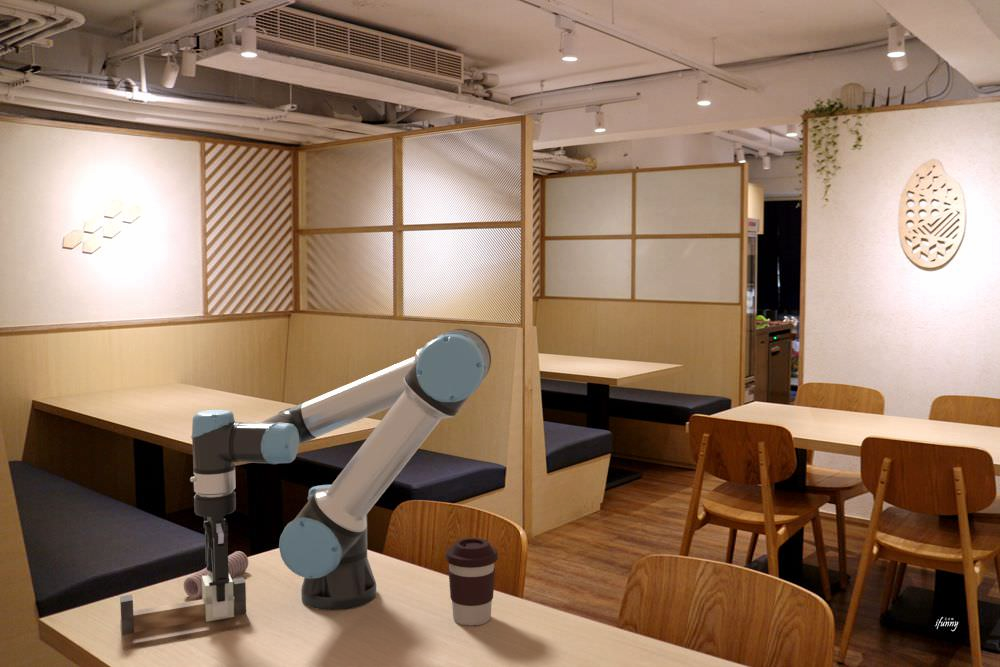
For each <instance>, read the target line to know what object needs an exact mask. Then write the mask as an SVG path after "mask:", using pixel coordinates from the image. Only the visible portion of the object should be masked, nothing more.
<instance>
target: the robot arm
mask: <svg viewBox="0 0 1000 667" xmlns="http://www.w3.org/2000/svg"><path fill="white" fill-rule="evenodd" d="M491 365H492V352H491V349H490V346H489V344H488V342H487V341H486V340H485V339H484V338H483V336H482V335H480V334H479V333H477V332H476V331H474V330H470V329H467V328H455V329H452V330H449V331H447V332H445V333H443V334H439V335H437V336H435V337H434V338H432V339H431V340H430V341H428V342H427V343H426V344H425V345H424V346H422V347H421V348H419V349H417V350H416V352H415V355H414V356H412V357H410V358H409V357H408V358H407V359H405V360H403V361H402V360H401V361H400V362H398V363H395V364H393V365H390V366H388V367H385V368H383V369H381V370H379V371H377V372H374V373H372V374H369V375H366V376H364V377H362V378H359V379H357V380H354V381H353V382H350V383H348V384H345V385H343V386H339V387H337V388H336V389H333V390H332V391H331V390H330V391H328V392H326V393H324V394H322V395H319V396H317V397H314V398H312V399H310V400H307V401H305V402H303V403H300V404H297V405H295V406H294V407H288V408H285V409H284V410H281V411H280V412H278V413H277V414H275V415H273V416H271V417H269V418H266V419H265V420H263V421H259V422H240V421H235V416H234V413H233V412H232V411H230V410H228V409H227V410H225V409H210V410H209V409H208V410H207V409H206V410H202V411H199V412H197V413H195V414H194V416H193V417H192V427H191V428H192V429H191V430H192V431H191V436H190V437H191V440H192V442H191V443H192V444H191V445H192V464H193V466H192V467H193V475H194V476H191V477H190V478H189V481H190V482H191V483H193V492H194V493H195V495H194V496H193V506H194V514H195V515H196V516H199V517H203V529H204V539H205V540H204V541H205V543H204V544H205V561H204V562H205V565H206V567H207V570H208V571H210V572H208V573H207V575H213V582H210V583H209V586H212V607H213V618H219V617H225V616H228V589H227V583H229V569H228V556H229V546H228V545H229V541H228V540H229V532H228V531H229V524H228V522H226V521H227V520H226V518H225V516H227V515H230V514H232V513H234V512H235V511H236V508H237V498H236V497H237V496H236V495H237V494H236V492H235V489H236V487H237V486H236V464H235V463H252V464H253V463H255V464H270V465H278V464H290V463H292V462H293V461H294V460H296V458H297V455H298V453H299V450H300V449H299V447H300V445H303V444H304V443H307V442H310V441H312V440H315V439H316V438H319V437H321V436H324V435H326V434H328V433H331V432H333V431H335V430H338V429H341V428H344V427H346V426H348V425H350V424H353V423H356V422H358V421H360V420H362V419H365V418H368V417H370V416H373V415H375V414H378V413H380V412H382V411H385V410H387V409H389V410H388V411H387V413H386V414H385V415H384V416H383V418H382V419H381V421H380V422H378V424H377V426H375V428H374V429H373V430H372V432H371V433H370V434H369V436H368V437H367V439H366V440H365V441H364V442H363V443H362V445H361V446H360V448H359V449H358V450H357V452H356V453H355V454H354V455H353V457H351V459H350V460H349V462H348V463H347V464H346V466H345V467H344V468H343V469H342V470H341V472H340V473H339V474H338V475H337V477H336V479H335V480H334V481H333V482H332V484H322V485H316V486H315V485H314V486H312V487H311V488H309V490H308V496H307V503H305V505H304V506H303V508H302V509H301V510H300V512H299V513H298V514H297V515H296V517H295V518H294V519H292V520H291V521H290V522H288V523H287V524H286V526H284V529H283V531H282V532H281V534H280V537H279V544H278V548H279V553H280V557H281V559H282V561H283V562H284V565H285V566H286V567H287V568H288V569H289V570H290V571H291V572H292V573H294V574H295V575H297V576H299V577H302V578H304V579H303V582H302V584H301V585H302V586H301V596H300V597H301V602H302V603H303V604H304V605H305V606H307V607H310V608H312V609H315V610H322V611H343V610H350V609H355V608H358V607H362V606H365V605H366V604H368V603H370V602H372V601H373V600H374V599H375V598H376V597H377V582H376V579H375V577H374V576H375V575H374V573H373V570H372V568H371V564H370V562H369V559H368V514H369V512H370V511H371V509H372V508H373V507H374V506H375V504H376V503H377V502H378V501H379V499H380V498H381V497H382V495H383V494H384V493H385V492H386V490H387V489H388V488H389V487H390V485H391V484H392V483H393V482H394V480H395V479H396V478H397V477H398V475H399V474H400V473H401V471H402V470H403V469H404V467H405V466H406V465H408V464H407V463H409V462H410V460H411V458H412V457H413V456H414V455H415V454H416V452H417V451H418V450H419V448H420V447H421V446H422V445H423V443H424V442H425V441H426V440H427V438H428V437H429V436H430V434H431V433H432V432H433V431H434V429H435V428H436V427H437V426H438V424H439V423H440V422H441V421H442V420H443V419H449V418H450V419H451V418H455V416H456V415H457V414H458V412H459V411H460V410H461V408H462V407H463V406H464V405H465V403H466V402H467V401H468V399H469V398H470V397H471V396H472V395H473V394H474V393H475V392H476V391H477V390H478V389H479V387H480V386H481V384H482V382H483V381H484V380H485V378H486V376H487V375H488V373H489V371H490V368H491Z"/></svg>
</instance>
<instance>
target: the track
mask: <svg viewBox="0 0 1000 667" xmlns="http://www.w3.org/2000/svg"><path fill="white" fill-rule="evenodd" d="M231 579H232V581H233V599H234V617H231V618H225V619H219V620H213V621H208V622H206V615H205V601H204V599H195V600H191V601H185V602H178V603H173V604H172V603H171V604H166V605H165V604H164V605H161V606H154V607H148V608H141V609H136V610H134V600H133V594H128V595H121V596H119V599H120V601H119V603H120V622H119V624H120V632H121V640H122V649H123V650H127V649H134V648H139V647H145V646H149V645H156V644H161V643H165V642H166V643H167V642H171V641H178V640H183V639H189V638H194V637H200V636H204V635H212V634H215V633H217V634H218V633H223V632H227V631H233V630H238V629H244V628H250V627H251V620H250V618H249V617H248V614H247V592H246V591H247V588H246V587H247V585H246V581H245V579H244V576H243V577H236V578H235V577H234V578H231Z"/></svg>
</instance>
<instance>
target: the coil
mask: <svg viewBox="0 0 1000 667" xmlns="http://www.w3.org/2000/svg"><path fill="white" fill-rule="evenodd" d="M248 566H249V558H248V556H247V555H246V554H245V553H244V552H243V551H240V550H238V551H237V550H236V551H234V552H232V553H231V554H228V569H229V574H230V576H231V579H234V578H235V577H236V576H238V575H240V574H242V573H244V572H245V571H246V570H247V569H248ZM208 572H210V571H208V570H207V566H206V567H205V568H203V569H201V570H199V571H197V572H196V573H193V574H191V575H190V576H188V577H187V578H185V579H184V582H183V590H184V592H185V593H186V595H187V596H188V597H189V600H198V599H199V598H200V597H202V576H206V575H207V573H208Z"/></svg>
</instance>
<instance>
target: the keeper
mask: <svg viewBox="0 0 1000 667" xmlns="http://www.w3.org/2000/svg"><path fill="white" fill-rule="evenodd" d="M232 579H233V578H231V576H230V574H229V583H227V589H228V616H225V617H219V618H213V607H212V586H209V583H210V582H213V575H206V576H202V596H201V598H202V599H204V601H205V615H206V622H208V621H213V620H219V619H225V618H231V617H234V599H233V581H232ZM202 599H201V600H202Z"/></svg>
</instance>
